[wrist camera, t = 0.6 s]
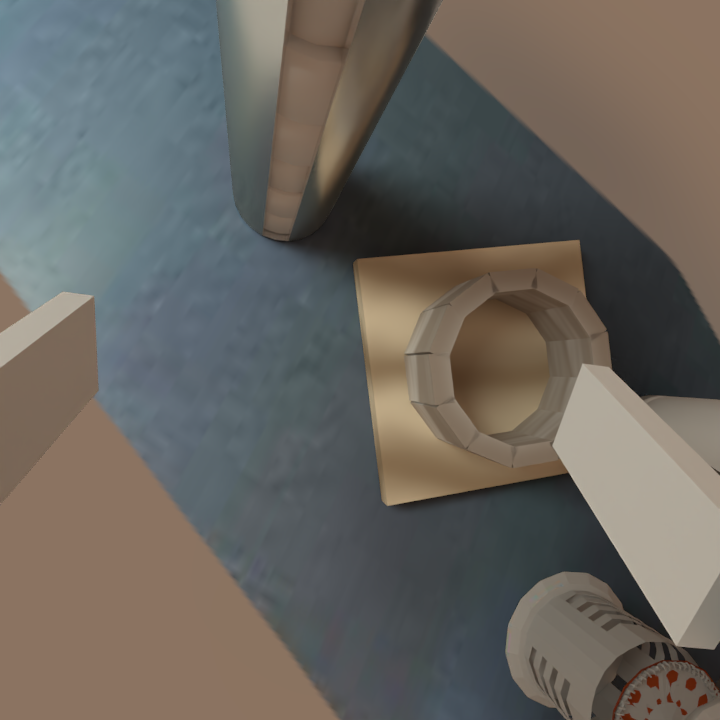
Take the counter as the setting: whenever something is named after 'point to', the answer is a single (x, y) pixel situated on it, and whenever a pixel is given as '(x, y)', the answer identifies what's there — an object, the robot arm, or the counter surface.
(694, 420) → the travel mug
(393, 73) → the metal cylinder
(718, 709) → the french press
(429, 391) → the collar
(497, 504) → the counter surface
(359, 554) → the counter surface
